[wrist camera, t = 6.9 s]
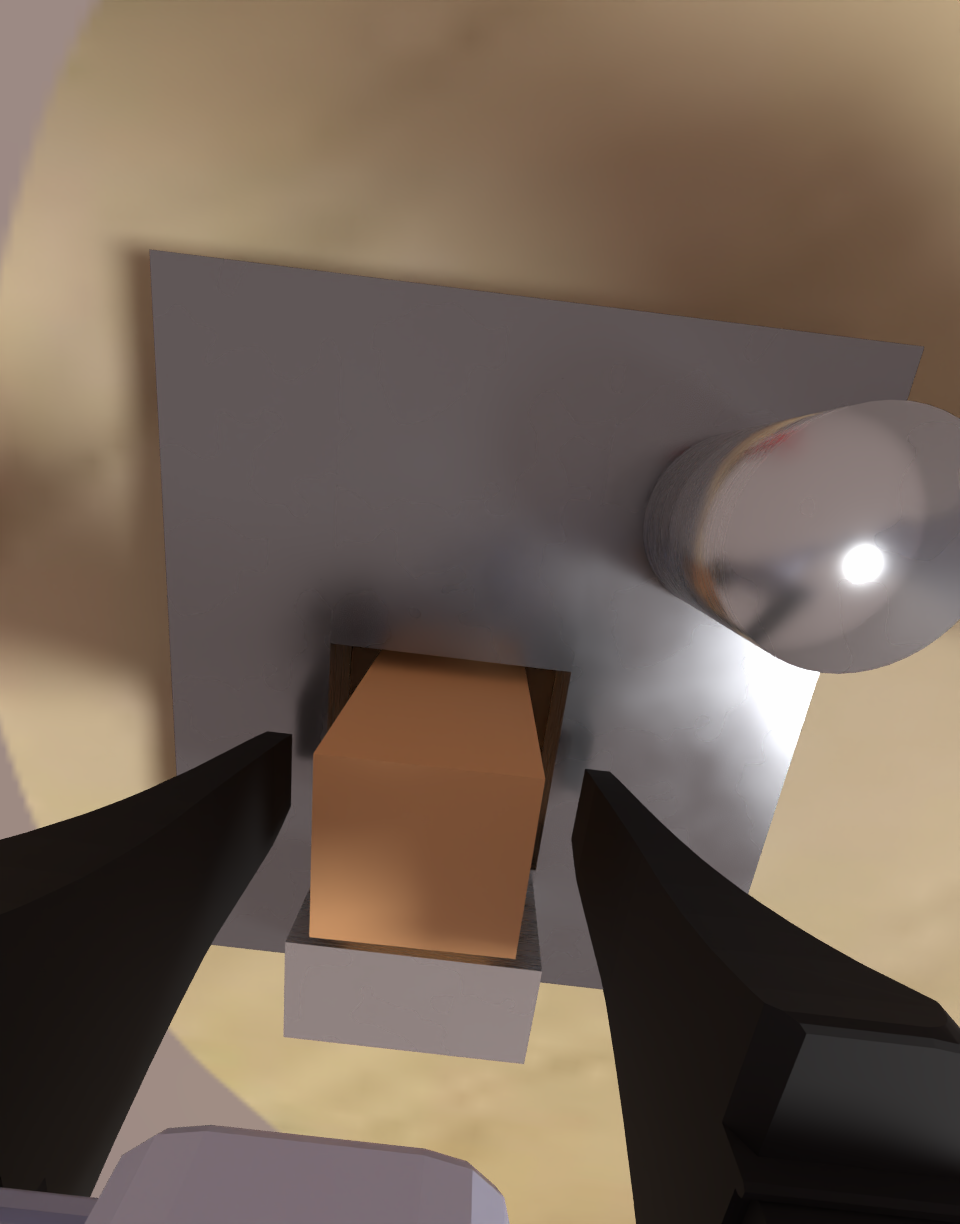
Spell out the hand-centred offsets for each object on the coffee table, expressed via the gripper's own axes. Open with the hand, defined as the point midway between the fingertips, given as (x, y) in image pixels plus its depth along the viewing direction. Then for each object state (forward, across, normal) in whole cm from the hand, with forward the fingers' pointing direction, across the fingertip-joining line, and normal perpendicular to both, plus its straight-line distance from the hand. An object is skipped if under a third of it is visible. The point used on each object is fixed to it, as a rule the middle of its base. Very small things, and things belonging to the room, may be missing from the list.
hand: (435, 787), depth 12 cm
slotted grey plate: (+3, -1, -2) cm, 4 cm away
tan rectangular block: (+3, 0, 0) cm, 3 cm away
